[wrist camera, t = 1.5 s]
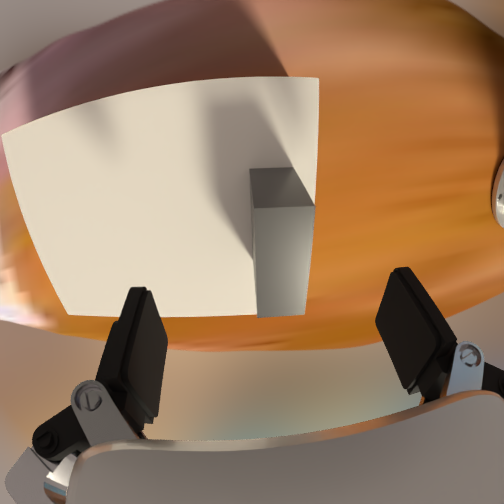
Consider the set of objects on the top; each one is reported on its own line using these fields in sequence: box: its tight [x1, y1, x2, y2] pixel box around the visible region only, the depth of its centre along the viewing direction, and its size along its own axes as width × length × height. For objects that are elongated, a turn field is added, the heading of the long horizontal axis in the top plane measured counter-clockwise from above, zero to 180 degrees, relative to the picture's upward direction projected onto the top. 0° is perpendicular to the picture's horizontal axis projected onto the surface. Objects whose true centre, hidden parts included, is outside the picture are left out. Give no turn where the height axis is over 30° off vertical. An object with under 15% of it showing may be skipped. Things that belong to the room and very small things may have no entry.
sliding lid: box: [1, 77, 319, 318], centre depth 15 cm, size 20×16×6 cm
